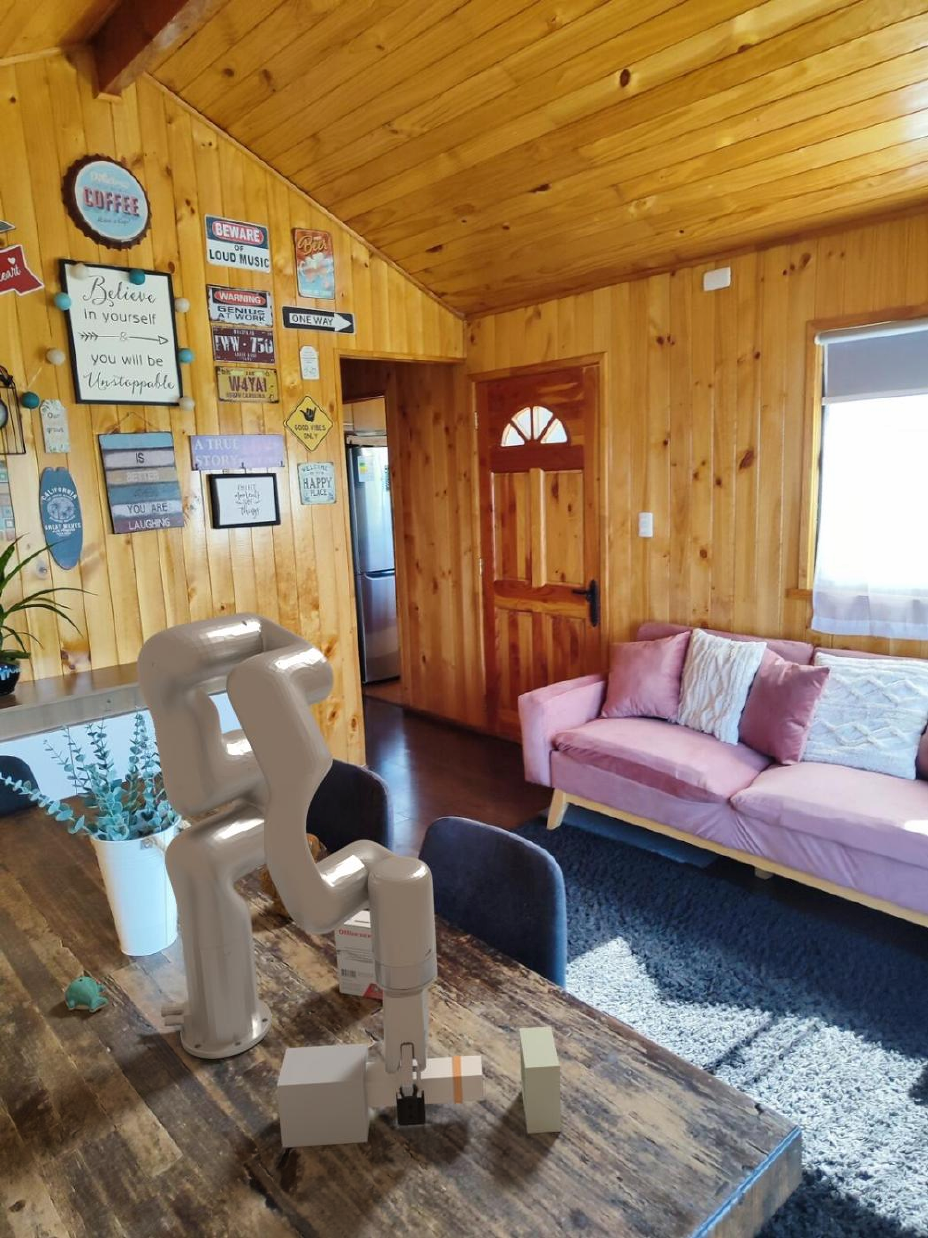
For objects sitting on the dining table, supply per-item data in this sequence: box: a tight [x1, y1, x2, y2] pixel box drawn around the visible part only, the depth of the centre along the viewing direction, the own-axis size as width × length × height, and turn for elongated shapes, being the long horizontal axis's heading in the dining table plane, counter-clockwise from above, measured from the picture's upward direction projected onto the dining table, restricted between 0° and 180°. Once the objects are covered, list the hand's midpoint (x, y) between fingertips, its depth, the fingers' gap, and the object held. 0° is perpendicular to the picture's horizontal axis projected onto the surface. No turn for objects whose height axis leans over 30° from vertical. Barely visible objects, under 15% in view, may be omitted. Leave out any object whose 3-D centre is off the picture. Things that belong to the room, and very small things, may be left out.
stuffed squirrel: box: [257, 832, 327, 919], centre depth 151 cm, size 10×14×13 cm
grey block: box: [276, 1042, 372, 1148], centre depth 99 cm, size 10×6×8 cm, turn 92°
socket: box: [518, 1026, 562, 1134], centre depth 100 cm, size 4×7×9 cm, turn 2°
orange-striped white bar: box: [364, 1054, 484, 1109], centre depth 99 cm, size 24×4×4 cm, turn 92°
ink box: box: [333, 910, 383, 1001], centre depth 126 cm, size 9×5×12 cm, turn 71°
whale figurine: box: [64, 976, 109, 1013], centre depth 126 cm, size 6×7×4 cm
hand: (413, 1092), depth 100 cm, fingers open, 9 cm apart
